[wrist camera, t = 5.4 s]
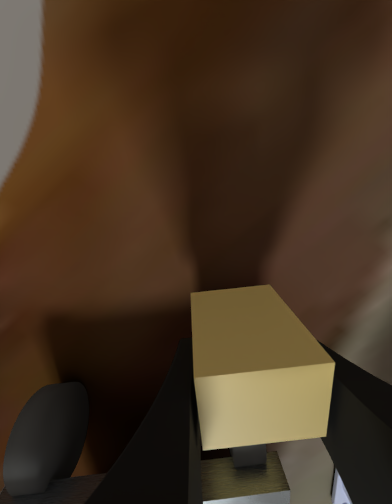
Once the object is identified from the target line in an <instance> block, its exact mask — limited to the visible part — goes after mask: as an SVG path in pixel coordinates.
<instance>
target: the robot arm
mask: <svg viewBox="0 0 392 504" xmlns="http://www.w3.org/2000/svg"><path fill="white" fill-rule="evenodd" d="M317 342H318V343H319V344H320V345H321V346H322V347H323V349H324V350H325V351H326V352H327V353H328V355H329V356H330V357H331V358H332V359H333V360H334V362H335V368H334V376H333V384H332V393H331V401H330V409H329V417H328V425H327V433H326V437H320V438H321V439H322V441H323V443H324V445H325V447H326V449H327V451H328V453H329V455H330V456H331V459H332V461H333V463H334V465H335V467H336V470H335V477H334V485H333V492H332V500H331V501H332V503H333V504H392V385H390V384H388V383H386V382H384V381H382V380H381V379H379V378H377V377H375V376H373V375H372V374H370V373H368V372H367V371H365V370H363V369H361V368H360V367H358V366H356V365H355V364H353V363H351V362H350V361H348V360H347V359H345V358H343V357H342V356H340V355H339V354H337V353H336V352H334V351H333V350H331V349H330V348H328V347H327V346H325V345H324V344H322V343H321V342H319V341H318V340H317ZM84 504H203V497H202V481H201V431H200V423H199V415H198V407H197V399H196V391H195V384H194V370H193V343H192V337H191V338H183V339H181V340H180V341H179V344H178V347H177V351H176V354H175V356H174V359H173V362H172V364H171V366H170V369H169V371H168V373H167V376H166V378H165V380H164V382H163V384H162V386H161V388H160V390H159V392H158V394H157V396H156V398H155V400H154V402H153V404H152V406H151V407H150V409H149V411H148V413H147V414H146V416H145V418H144V419H143V421H142V423H141V424H140V426H139V428H138V429H137V431H136V432H135V434H134V435H133V437H132V438H131V440H130V441H129V443H128V445H127V446H126V447H125V449H124V450H123V452H122V453H121V455H120V456H119V458H118V459H117V460H116V462H115V463H114V464H113V466H112V467H111V468H110V470H109V471H108V472H107V474H106V475H105V476H104V478H103V479H102V480H101V482H100V483H99V485H98V486H97V487H96V489H95V490H94V491H93V492H92V494H91V495H90V496H89V498H88V499H87V500H86V501H85V502H84Z"/></svg>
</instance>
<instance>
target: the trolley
mask: <svg viewBox="0 0 392 504" xmlns="http://www.w3.org/2000/svg"><path fill="white" fill-rule="evenodd" d="M88 421H89V400H88V395H87V391H86V389H85V387H84V386H83V385H82V384H81V383H80V382H68V383H59V384H51V385H47V386H44V387H42V388H41V389H39V390H38V391H37V392H36V393H35V394H34V395H33V396H32V397H31V398H30V399H29V400H28V402H27V403H26V404H25V406H24V407H23V409H22V411H21V412H20V414H19V416H18V418H17V420H16V422H15V424H14V426H13V429H12V431H11V434H10V437H9V440H8V443H7V447H6V452H5V457H4V465H3V478H4V484H5V487H4V488H3V490H2V492H1V493H0V504H84V502H85V501H86V500H87V499H88V498H89V496H90V495H91V494H92V492H93V491H94V490H95V489H96V487H97V486H98V485H99V483H100V482H101V480H102V479H103V478H104V476H105V475H106V474H107V473H102V474H94V475H87V476H79V477H71V475H72V473H73V471H74V469H75V467H76V465H77V463H78V460H79V458H80V455H81V452H82V449H83V446H84V442H85V438H86V434H87V428H88ZM229 450H230V455H231V457H226V458H218V459H211V460H203V461H201V481H202V497H203V504H290V488H289V485H288V482H287V479H286V477H285V474H284V471H283V468H282V465H281V462H280V459H279V456H278V453H277V451H273V452H266V443H265V444H257V445H248V446H239V447H231V448H229ZM70 477H71V478H70Z"/></svg>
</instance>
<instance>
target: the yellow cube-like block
mask: <svg viewBox="0 0 392 504" xmlns="http://www.w3.org/2000/svg"><path fill="white" fill-rule="evenodd" d="M191 316H192V343H193V370H194V384H195V391H196V399H197V407H198V415H199V423H200V431H201V439H202V447H203V451H205V450H213V449H222V448H231V447H239V446H248V445H257V444H265V443H274V442H283V441H291V440H300V439H309V438H318V437H326V433H327V425H328V417H329V409H330V401H331V393H332V384H333V376H334V368H335V362H334V360H333V359H332V358H331V357H330V356H329V355H328V353H327V352H326V351H325V350H324V349H323V347H322V346H321V345H320V344H319V343H318V342H317V340H316V339H315V338H314V337H313V336H312V334H311V333H310V332H309V331H308V330H307V328H306V327H305V326H304V325H303V324H302V323H301V321H300V320H299V319H298V318H297V317H296V315H295V314H294V313H293V312H292V311H291V310H290V308H289V307H288V306H287V305H286V304H285V302H284V301H283V300H282V299H281V298H280V296H279V295H278V294H277V293H276V292H275V291H274V289H273V288H272V287H271V286H270V285H260V286H251V287H241V288H232V289H223V290H213V291H204V292H194V293H191Z"/></svg>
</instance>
